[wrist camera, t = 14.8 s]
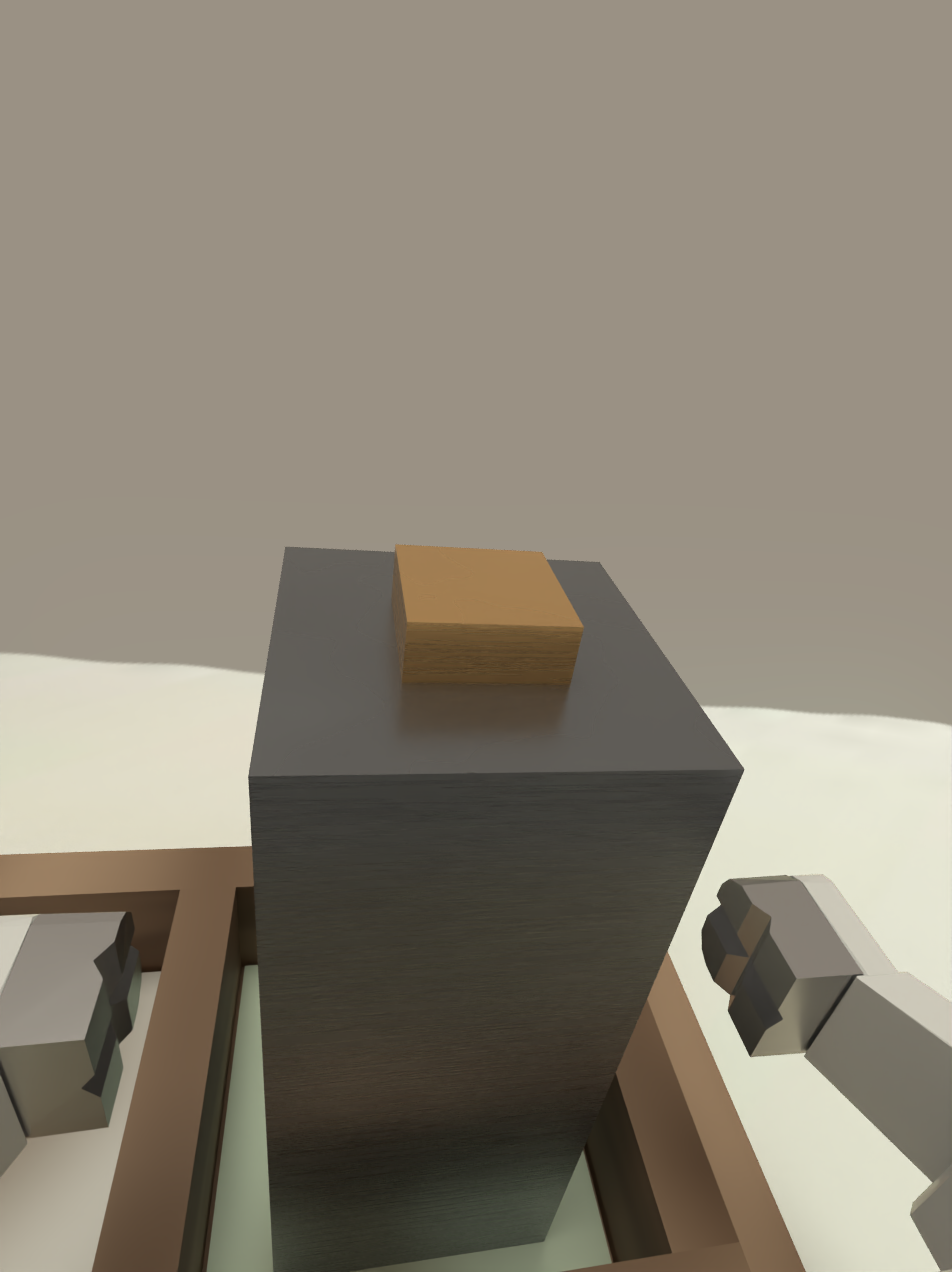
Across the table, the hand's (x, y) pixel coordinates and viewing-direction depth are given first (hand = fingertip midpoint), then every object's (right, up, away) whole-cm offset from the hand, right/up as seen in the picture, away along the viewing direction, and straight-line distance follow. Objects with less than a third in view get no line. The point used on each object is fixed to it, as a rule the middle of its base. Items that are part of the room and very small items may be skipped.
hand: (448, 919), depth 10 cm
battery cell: (-1, -6, +5) cm, 8 cm away
